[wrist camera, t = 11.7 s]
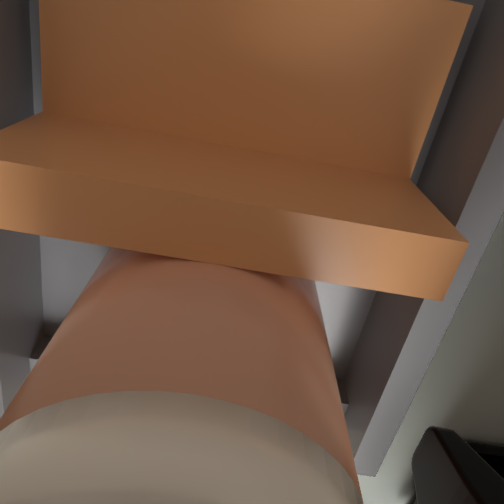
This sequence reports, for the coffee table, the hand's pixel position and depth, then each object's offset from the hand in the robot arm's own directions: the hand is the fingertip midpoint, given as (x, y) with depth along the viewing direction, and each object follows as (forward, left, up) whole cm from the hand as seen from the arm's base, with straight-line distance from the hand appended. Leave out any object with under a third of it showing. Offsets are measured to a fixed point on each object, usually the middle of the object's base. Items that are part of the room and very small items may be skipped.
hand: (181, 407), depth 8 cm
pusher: (0, -5, -5) cm, 7 cm away
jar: (0, 0, -5) cm, 5 cm away
